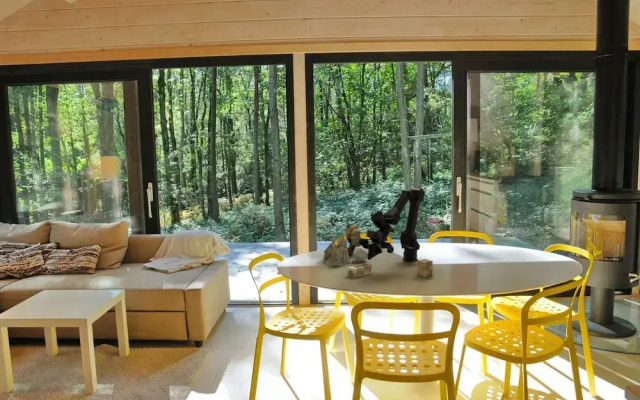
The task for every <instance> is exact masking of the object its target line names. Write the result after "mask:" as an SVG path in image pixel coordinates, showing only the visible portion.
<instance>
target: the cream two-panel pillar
mask: <svg viewBox="0 0 640 400" xmlns="http://www.w3.org/2000/svg"><path fill="white" fill-rule="evenodd" d="M372 268H373V265H372V264H370V263H365V262H362V263H359V264H355V265H351V266H348V267H347V277H348V278H352V279H356V278H359V276H360V277H362V276H363V275H364V276H366V275H367V276H368V275H370V274H371V273H373V272H372V271H373V269H372ZM371 275H372V274H371ZM364 276H363V277H364Z"/></svg>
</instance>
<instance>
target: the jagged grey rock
mask: <svg viewBox="0 0 640 400" xmlns="http://www.w3.org/2000/svg"><path fill="white" fill-rule="evenodd" d="M335 238H336V237H332V238H331V242H330V243H329V244H328V246H327V247H326V248H325V249H324V250H323V253H324V254H323V258H322V262H323V263H325V264H326V265H328V266H331V267H344V266H346V265H349V264H350V262H351V261H350V260H351V259H350V256H349V255H348V251H347V249H348V241H347V238H346V237H345V234H342V235H341V236H340V238H337V243H336V239H335Z"/></svg>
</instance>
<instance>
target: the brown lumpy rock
mask: <svg viewBox="0 0 640 400" xmlns="http://www.w3.org/2000/svg"><path fill="white" fill-rule="evenodd" d="M360 238H362V235H361V230H360V229H359V228H358V225H357V224H352V225H350V226H349V228H348V229H347V230H346V232H345V239H347V244H349V245H348V246H347V248H348V249H347V251H348V256H349V257H353V252H354V249H355V247H362V246H361V244H360V243H359V240H360Z"/></svg>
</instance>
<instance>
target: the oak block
mask: <svg viewBox="0 0 640 400" xmlns="http://www.w3.org/2000/svg"><path fill="white" fill-rule="evenodd" d="M416 263H417V264H416V270H417V271H416V275H417V276H420V277H424V278H426V277H431V276H433V274H434V273H433V270H434V269H433V268H434V267H433V265H434V263H433V260H431V259H427V258H424V259H423V258H422V259H418V260H417V261H416Z"/></svg>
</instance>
